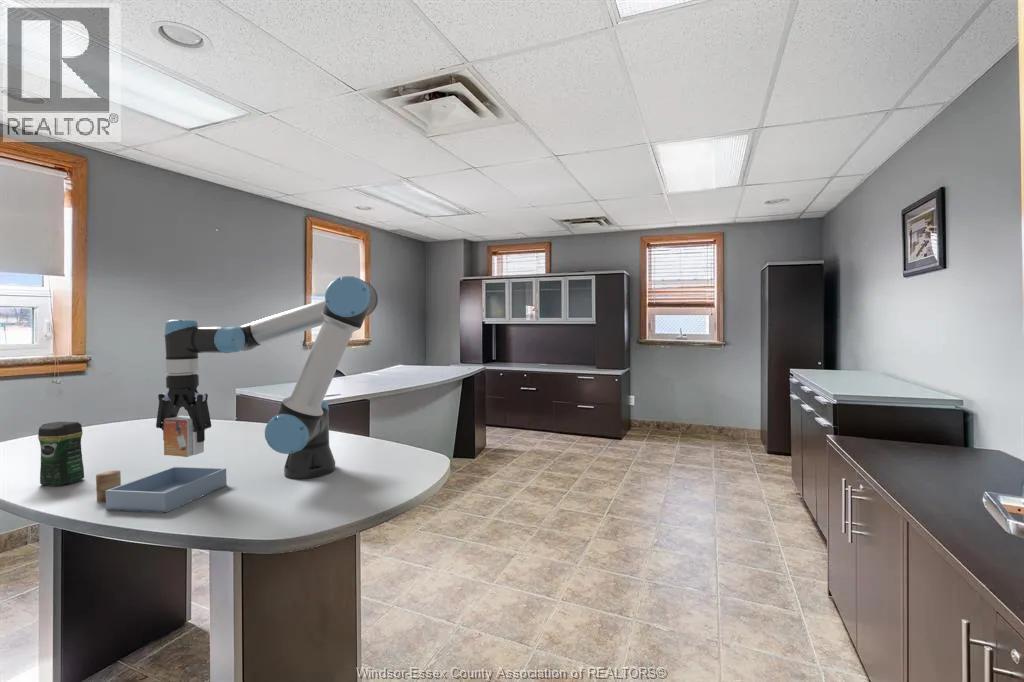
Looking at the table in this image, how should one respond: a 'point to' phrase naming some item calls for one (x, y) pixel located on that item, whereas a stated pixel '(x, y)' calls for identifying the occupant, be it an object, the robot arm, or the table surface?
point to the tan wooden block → (106, 483)
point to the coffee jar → (60, 453)
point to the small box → (178, 436)
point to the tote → (165, 489)
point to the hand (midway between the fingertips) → (184, 452)
